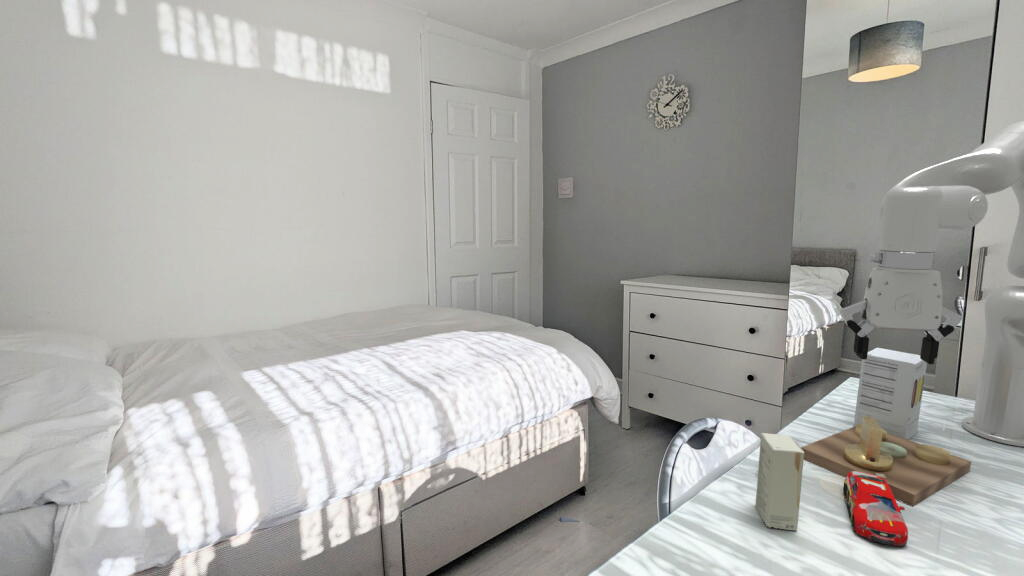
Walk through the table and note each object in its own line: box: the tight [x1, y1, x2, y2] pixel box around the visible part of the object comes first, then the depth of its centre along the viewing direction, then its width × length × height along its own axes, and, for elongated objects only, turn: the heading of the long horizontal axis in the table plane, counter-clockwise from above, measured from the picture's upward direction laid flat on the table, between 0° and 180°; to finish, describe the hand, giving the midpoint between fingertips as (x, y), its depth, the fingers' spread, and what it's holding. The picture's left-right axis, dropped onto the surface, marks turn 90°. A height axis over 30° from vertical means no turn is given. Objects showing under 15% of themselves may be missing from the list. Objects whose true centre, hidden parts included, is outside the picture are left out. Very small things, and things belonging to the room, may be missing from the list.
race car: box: [843, 471, 909, 547], centre depth 76 cm, size 16×7×5 cm, turn 151°
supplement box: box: [853, 347, 928, 440], centre depth 105 cm, size 10×9×17 cm
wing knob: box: [844, 416, 893, 471], centre depth 88 cm, size 7×7×7 cm
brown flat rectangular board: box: [800, 424, 972, 507], centre depth 91 cm, size 22×18×4 cm
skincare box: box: [755, 432, 805, 531], centre depth 74 cm, size 6×4×12 cm
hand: (893, 359), depth 86 cm, fingers open, 9 cm apart
